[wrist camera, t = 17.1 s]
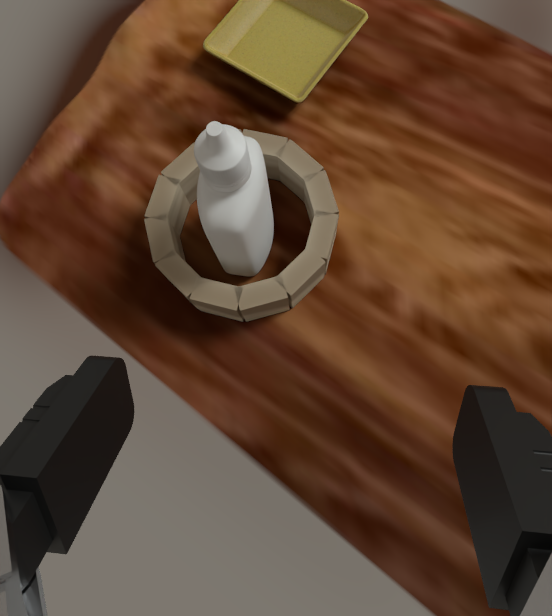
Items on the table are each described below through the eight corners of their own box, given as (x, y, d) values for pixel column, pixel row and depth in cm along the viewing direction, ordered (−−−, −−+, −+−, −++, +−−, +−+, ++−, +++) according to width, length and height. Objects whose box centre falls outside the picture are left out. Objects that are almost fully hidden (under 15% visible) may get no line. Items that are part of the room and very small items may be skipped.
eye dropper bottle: (195, 251, 32) (132, 150, 20) (248, 188, 33) (216, 56, 21) (247, 289, 31) (211, 206, 19) (299, 224, 32) (296, 107, 20)
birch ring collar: (355, 292, 30) (360, 277, 28) (180, 339, 30) (167, 330, 28) (306, 138, 33) (306, 111, 30) (146, 182, 33) (131, 158, 30)
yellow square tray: (204, 66, 36) (198, 44, 34) (273, -15, 37) (271, -40, 35) (300, 123, 34) (300, 104, 32) (368, 36, 35) (372, 13, 33)
